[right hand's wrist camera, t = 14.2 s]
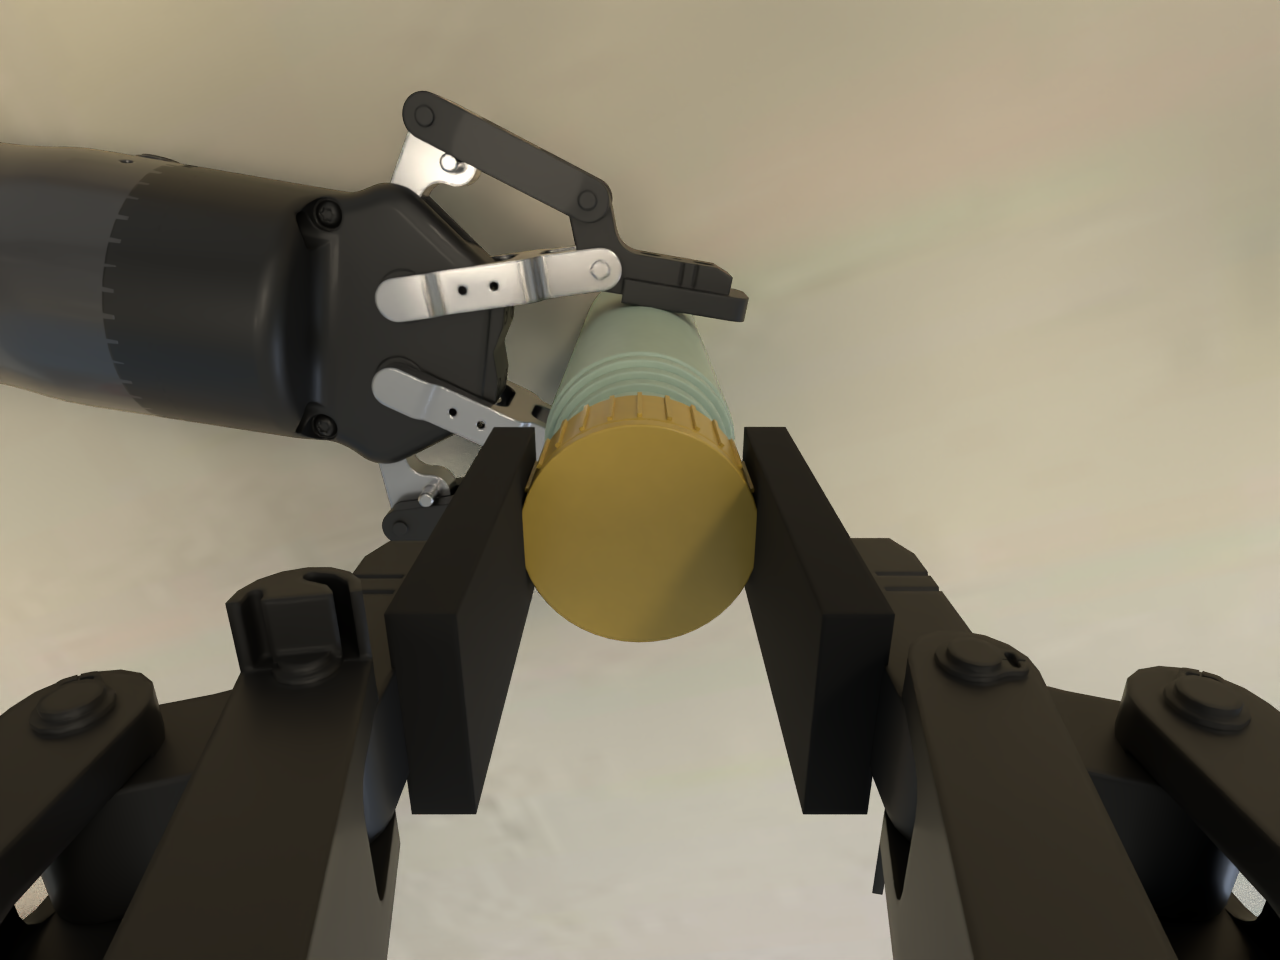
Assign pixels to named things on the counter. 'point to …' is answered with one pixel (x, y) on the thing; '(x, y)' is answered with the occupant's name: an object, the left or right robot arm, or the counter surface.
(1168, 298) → the counter surface
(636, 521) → the cap
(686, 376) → the bottle
